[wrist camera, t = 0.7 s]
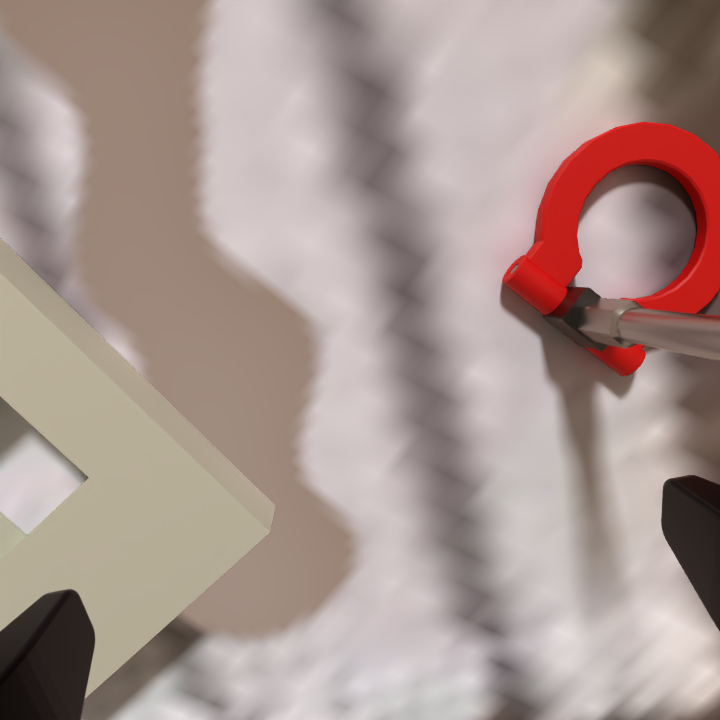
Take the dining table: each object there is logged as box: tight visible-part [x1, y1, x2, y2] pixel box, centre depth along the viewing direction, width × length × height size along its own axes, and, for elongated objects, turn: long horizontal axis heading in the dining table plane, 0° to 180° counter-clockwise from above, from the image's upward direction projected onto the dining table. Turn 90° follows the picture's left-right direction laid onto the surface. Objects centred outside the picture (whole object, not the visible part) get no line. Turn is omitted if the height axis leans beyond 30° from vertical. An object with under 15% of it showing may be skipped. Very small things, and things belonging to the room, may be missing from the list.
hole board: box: [0, 238, 276, 698], centre depth 24 cm, size 18×12×3 cm, turn 43°
